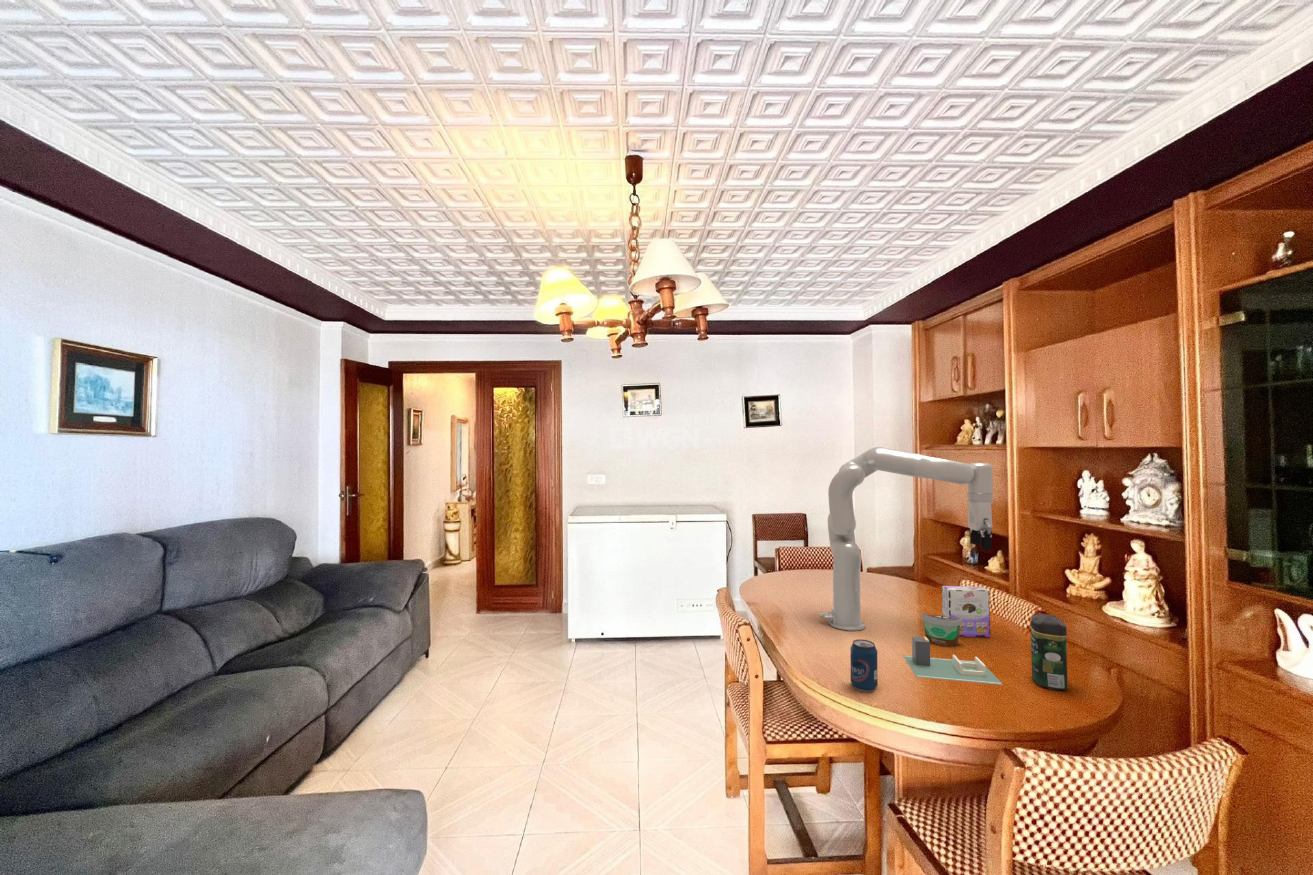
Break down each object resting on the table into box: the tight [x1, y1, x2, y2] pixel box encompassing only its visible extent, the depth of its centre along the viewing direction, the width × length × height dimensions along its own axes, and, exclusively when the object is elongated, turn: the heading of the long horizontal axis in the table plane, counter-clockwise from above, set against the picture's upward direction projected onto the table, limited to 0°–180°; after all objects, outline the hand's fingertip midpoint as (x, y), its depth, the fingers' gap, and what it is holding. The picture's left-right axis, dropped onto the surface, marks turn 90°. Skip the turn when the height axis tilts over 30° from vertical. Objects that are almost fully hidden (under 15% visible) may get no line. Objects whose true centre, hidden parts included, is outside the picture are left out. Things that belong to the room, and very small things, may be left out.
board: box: [902, 654, 1004, 686], centre depth 154 cm, size 22×16×1 cm
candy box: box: [941, 585, 991, 638], centre depth 187 cm, size 14×6×16 cm, turn 84°
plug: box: [911, 636, 931, 666], centre depth 159 cm, size 4×4×7 cm
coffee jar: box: [1030, 613, 1069, 691], centre depth 148 cm, size 10×8×19 cm
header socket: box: [952, 654, 987, 677], centre depth 153 cm, size 7×7×3 cm
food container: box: [920, 612, 963, 647], centre depth 175 cm, size 12×6×10 cm, turn 62°
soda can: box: [850, 639, 879, 693], centre depth 146 cm, size 7×7×12 cm
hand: (980, 546), depth 186 cm, fingers open, 9 cm apart
